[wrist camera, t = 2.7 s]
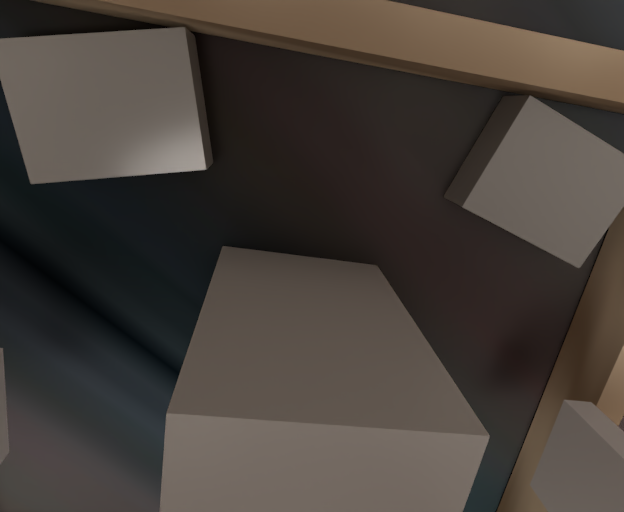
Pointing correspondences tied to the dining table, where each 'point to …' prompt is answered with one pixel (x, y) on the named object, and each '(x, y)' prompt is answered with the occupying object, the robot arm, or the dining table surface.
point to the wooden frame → (470, 70)
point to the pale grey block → (313, 398)
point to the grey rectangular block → (542, 179)
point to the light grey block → (106, 104)
